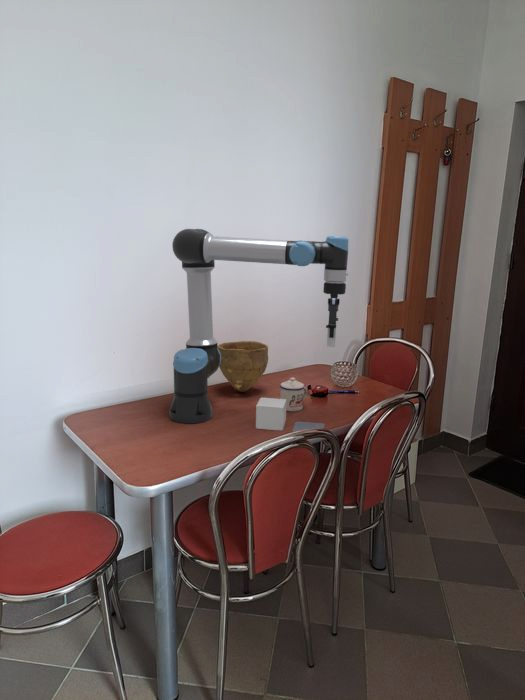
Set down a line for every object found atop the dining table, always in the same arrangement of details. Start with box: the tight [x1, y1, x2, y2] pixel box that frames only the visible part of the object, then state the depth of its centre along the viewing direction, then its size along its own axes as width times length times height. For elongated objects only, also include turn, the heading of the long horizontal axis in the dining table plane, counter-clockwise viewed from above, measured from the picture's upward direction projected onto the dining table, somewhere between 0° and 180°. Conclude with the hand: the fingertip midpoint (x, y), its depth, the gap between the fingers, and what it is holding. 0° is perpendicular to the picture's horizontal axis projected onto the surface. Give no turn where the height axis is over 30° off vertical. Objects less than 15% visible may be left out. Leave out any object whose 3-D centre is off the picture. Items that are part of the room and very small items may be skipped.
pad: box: [292, 420, 325, 433], centre depth 170 cm, size 10×10×1 cm
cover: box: [255, 397, 287, 431], centre depth 172 cm, size 9×9×8 cm
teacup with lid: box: [279, 377, 308, 412], centre depth 190 cm, size 12×9×12 cm
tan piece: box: [217, 340, 269, 393], centre depth 206 cm, size 21×20×20 cm
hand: (331, 342), depth 178 cm, fingers open, 13 cm apart
